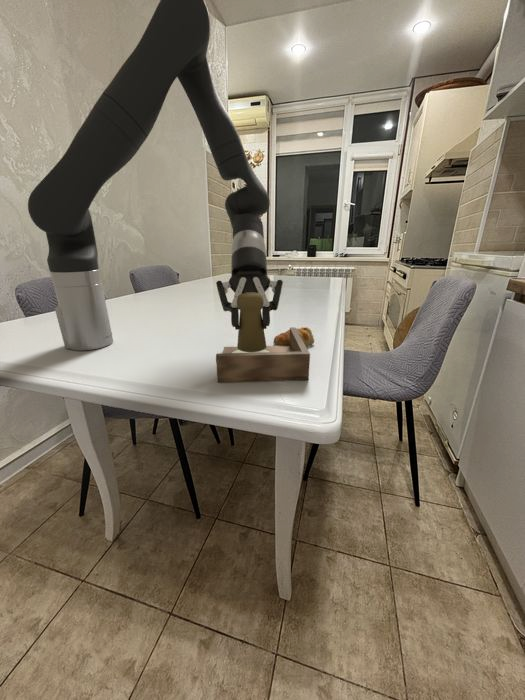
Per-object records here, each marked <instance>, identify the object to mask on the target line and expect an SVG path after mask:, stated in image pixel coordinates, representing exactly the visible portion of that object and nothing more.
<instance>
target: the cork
mask: <svg viewBox="0 0 525 700" xmlns="http://www.w3.org/2000/svg"><path fill="white" fill-rule="evenodd" d="M263 304H264V300H263V297H262V295H261V294H259V293H255V292H246V293H242V294H240V295H239V296H238V298H237V306H238V308H239V310H238V311H239V330H238V331H237V332H238V333H237V345H236V347H237V348H238V350H240V351H244V352H258V351H261V350H264V349H265V348H266V346H267V341H266V335H265V329H263V321H262V307H263Z"/></svg>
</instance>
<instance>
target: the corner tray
mask: <svg viewBox="0 0 525 700" xmlns="http://www.w3.org/2000/svg"><path fill="white" fill-rule="evenodd" d="M289 330H290V342H289V345H281V346H277V345H266V348H265V349H264V350H261V351H258V352H244V351H240V350H238V348H237V346H223V350H222V352H221V353H218V352H217V353H216V354H215V360H216V361H215V363H216V378H217V383H219V384H220V383H221V384H222V383H252V382H254V383H255V382H256V383H257V382H260V383H261V382H287V381H290V382H291V381H309V380H310V379H309V376H310V363H311V362H310V361H311V360H310V359H311V352H310V351H309V349H308V346H305V344H304V342H303V340H302V339H301V337H300V335H299V333H298V331H297V330H296V327H289Z"/></svg>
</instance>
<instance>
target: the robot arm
mask: <svg viewBox="0 0 525 700" xmlns="http://www.w3.org/2000/svg"><path fill="white" fill-rule="evenodd" d="M210 39H211V20H210V13H209V9H208V6H207V4H206V1H205V0H159V2H158V4H157V6H156V9H155V10H154V12H153V14H152V17H151V19H150V20H149V23H148V25H147V27H146V28H145V31H144V32H143V35H142V36H141V38H140V40H139V41H138V43H137V45H136V47H135V48H134V49H133V51H132V52H131V53H130V54H129V56H128V57H127V58H126V60H125V61H124V63H122V65H121V67H120V68H119V69H118V70H117V72H116V74H115V75H114V76H113V78H112V79H111V81H110V82H109V84H108V85H107V86H106V88H105V89H104V90H103V91H102V94H100V96H99V98H98V99H97V101H96V102H95V104H94V105H93V106H92V107H91V110H90V112H89V113H88V115H87V117H86V118H85V120H84V122H83V123H82V124H81V126H80V128H79V129H78V131H77V132H76V134H75V136H74V137H73V138H72V141H71V142H70V144H69V146H68V148H67V150H66V151H65V153H64V154H63V155H62V157H61V158H60V160H59V161H58V162H57V163H55V165H54V166H53V168H51V170H50V171H49V172H48V173H47V174H46V175H45V176H44V177H43V179H42V180H41V181H40V182H38V184H37V185H36V186H35V187H34V189H32V192H31V193H30V195H29V197H28V201H27V210H28V215H29V217H30V219H31V221H32V222H33V224H34V225H35V226H36V227H37V228H38V229H40V230H42V231H43V232H45V234H46V240H47V243H48V244H47V245H48V254H47V260H46V263H47V265H48V270H49V273H50V278H51V281H52V282H51V283H52V285H53V289H54V293H55V297H56V300H57V303H58V306H56V307H55V308H54V311H55V315H56V318H57V323H58V326H59V331H60V333H61V337H62V342H63V344H64V349H66V350H68V349H70V350H72V351H73V350H74V351H79V352H80V351H90V350H96V349H101V348H104V347H107V346H109V345H111V344H113V342H114V338H113V332H112V327H111V323H110V317H109V312H108V307H107V303H106V298H105V292H104V287H103V283H102V282H103V281H102V277H101V273H100V268H99V262H98V256H99V255H98V254H99V253H98V247H97V241H96V236H95V229H94V224H93V219H92V215H91V212H90V210H89V209H90V207H91V204H92V203H93V202H94V200H95V198H96V196H97V194H98V193H99V191H100V190H101V189H102V187H103V186H104V185H105V184H106V183H107V181H108V180H109V179H111V178H112V177H114V175H115V174H117V173H118V172H119V171H120V170H122V169H123V168H124V166H126V165H128V163H129V162H130V161H132V159H133V157H135V155H136V154H137V153H138V151H139V150H140V149H141V147H142V146H143V144H144V143H145V142H146V140H147V138H148V137H149V136H150V133H151V132H152V130H153V128H154V126H155V124H156V121H157V120H158V117H159V116H160V112H161V110H162V108H163V105H164V103H165V100H166V98H167V95H168V93H169V91H170V89H171V87H172V86H173V84H174V82H175V81H176V79H178V81H179V82H180V85H181V86H182V88H183V90H184V92H185V94H186V97H187V98H188V100H189V102H190V104H191V106H192V108H193V110H194V113H195V115H196V117H197V120H198V121H199V125H200V127H201V129H202V132H203V134H204V138H205V140H206V143H207V145H208V148H209V150H210V153H211V155H212V158H213V160H214V163H215V165H216V168H217V170H218V173H219V175H220V177H221V179H222V180H224V181H233V180H237V179H239V180H240V179H241V180H242V181H243V182H244V183H245V185H246V186H243V187H241V188H239V189H237V190H235V191H233V192H230V194H228V195H227V197H226V198H225V201H224V209H225V211H226V214H227V216H228V219H229V221H230V224H231V228H232V241H231V242H232V243H231V250H230V252H231V253H230V254H231V255H230V256H231V262H230V263H231V264H230V265H231V275H230V278H229V279H228V281H225V282H223V281H222V280H217V281H216V282H215V285H216V289H217V293H218V297H219V299H220V303H221V307H222V310H223V312H230V317H231V318H230V322H231V323H230V324H231V326H232V328H234V329H235V330H236V331H237V330H238V331H239V319H240V310H239V308H238V306H237V298H238V296H239V295H240V294H242V293H246V292H255V293H259V294H261V295H262V297H263V300H264V304H263V307H262V309H261V314H262V321H263V329H264V330H267V327H269V326H270V325H271V313H270V312H271V311H277V310H278V307H279V303H280V298H281V294H282V290H283V289H282V288H283V285H284V283H283V282H284V281H283V280H282V279H278V280H276V281H273V280H271V279H270V277H269V276H268V267H267V266H268V265H267V251H266V244H265V236H264V234H265V233H264V224H263V221H262V219H261V218H260V216H263V215H264V214H266V213H267V212H268V211H269V209H270V205H271V203H270V197H269V193H268V191H267V190H266V188H265V187H264V185H263V184H262V182H261V181H260V180H259V178H258V177H257V174H256V173H255V171H254V170H253V168H252V166H251V164H250V163H249V160H248V158H247V154H246V151H245V148H244V146H243V143H242V141H241V138H240V135H239V132H238V130H237V128H236V125H235V123H234V121H233V119H232V118H231V116H230V114H229V113H228V111H227V109H226V108H225V106H224V104H223V102H222V100H221V98H220V97H219V94H218V92H217V89H216V87H215V84H214V81H213V78H212V74H211V70H210V66H209V61H208V57H207V53H208V48H209V43H210ZM269 288H271V292H272V293H273V298H272V300H271V301H269V299H268V297H267V293H266V292H267V291H268V289H269ZM229 289H231V290H232V291H233V293H234V295H233V299H232V301H231V302H230V301H229V300H228V298H227V293H228V292H229Z"/></svg>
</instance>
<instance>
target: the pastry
mask: <svg viewBox="0 0 525 700" xmlns="http://www.w3.org/2000/svg"><path fill="white" fill-rule="evenodd" d="M295 328H296V327H295ZM296 330H297V331H298V333H299V335H300V337H301V339H302V340H303V342H304V344H305V346H306V347H309V346H308V345H310V346H312V345H313V344H314V343H315V338H314V335H313V333H312V330H311V328H309V327H307V326H306V327H300V328H296ZM289 342H290V329H288V330H287V331H284V332H281V333H279V334H278V335H275V336H274V338H273V345H274V346H281V345H289Z"/></svg>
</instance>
